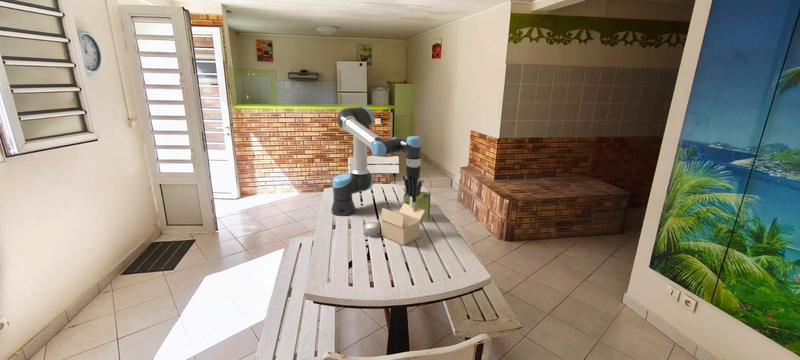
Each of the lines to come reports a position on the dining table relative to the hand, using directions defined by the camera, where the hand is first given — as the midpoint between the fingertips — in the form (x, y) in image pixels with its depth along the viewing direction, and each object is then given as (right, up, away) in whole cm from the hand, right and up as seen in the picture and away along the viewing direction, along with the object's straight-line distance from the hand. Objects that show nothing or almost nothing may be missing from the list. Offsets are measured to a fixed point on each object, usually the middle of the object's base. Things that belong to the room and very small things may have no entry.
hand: (412, 207), depth 188 cm
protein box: (+3, -8, +23) cm, 24 cm away
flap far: (0, -2, 0) cm, 2 cm away
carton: (-7, -16, -2) cm, 17 cm away
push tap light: (-22, -15, +1) cm, 27 cm away
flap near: (-11, -4, -11) cm, 16 cm away
